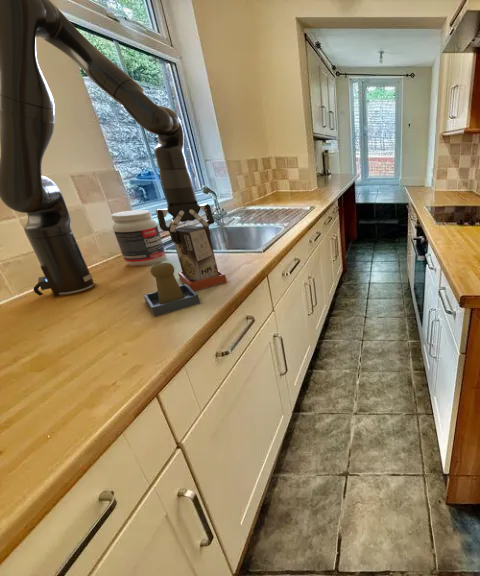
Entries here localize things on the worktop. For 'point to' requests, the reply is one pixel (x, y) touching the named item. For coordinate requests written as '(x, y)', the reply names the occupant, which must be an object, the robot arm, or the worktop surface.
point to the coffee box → (196, 253)
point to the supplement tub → (138, 237)
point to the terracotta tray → (203, 281)
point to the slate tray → (158, 309)
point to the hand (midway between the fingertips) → (192, 240)
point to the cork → (166, 283)
